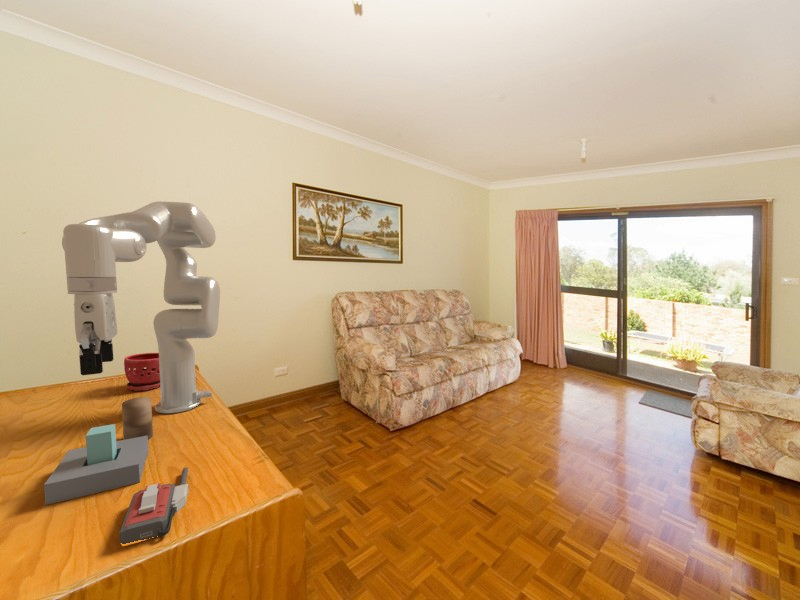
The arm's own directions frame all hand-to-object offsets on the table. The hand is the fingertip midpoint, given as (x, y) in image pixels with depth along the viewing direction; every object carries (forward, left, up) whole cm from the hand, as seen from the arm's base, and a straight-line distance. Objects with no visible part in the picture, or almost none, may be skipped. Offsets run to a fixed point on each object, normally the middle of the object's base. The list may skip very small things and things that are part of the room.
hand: (98, 367), depth 71 cm
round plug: (-4, -16, -23) cm, 28 cm away
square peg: (0, 0, -23) cm, 23 cm away
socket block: (0, 0, -23) cm, 23 cm away
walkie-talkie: (-11, +18, -24) cm, 32 cm away
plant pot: (-1, -63, -24) cm, 67 cm away
